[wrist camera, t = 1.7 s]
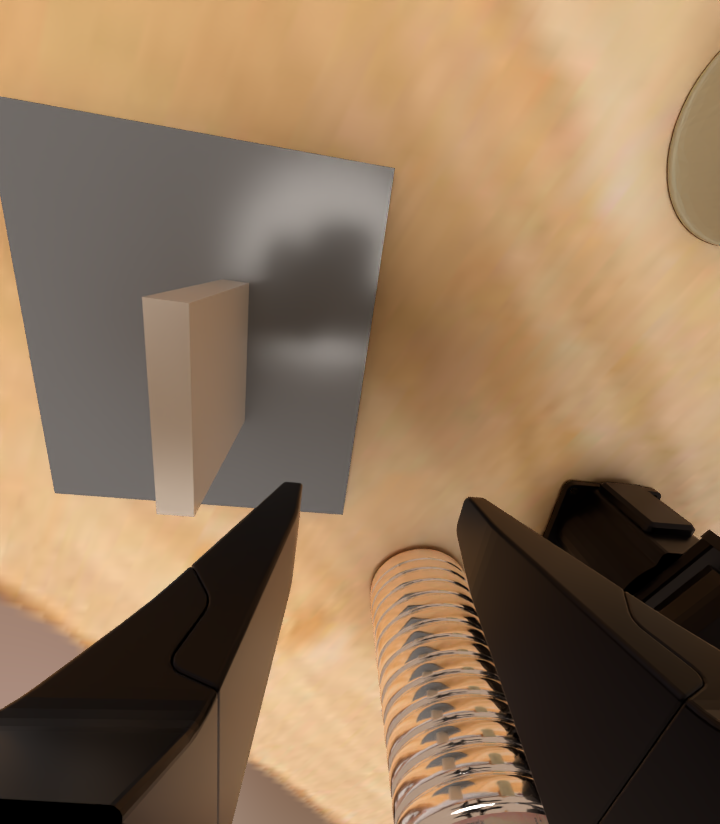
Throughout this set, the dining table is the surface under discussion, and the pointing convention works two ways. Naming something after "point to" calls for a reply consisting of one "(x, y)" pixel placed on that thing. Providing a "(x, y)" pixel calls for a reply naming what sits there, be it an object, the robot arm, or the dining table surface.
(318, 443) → the board
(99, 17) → the dining table surface
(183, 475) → the tile
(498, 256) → the dining table surface
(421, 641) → the water bottle
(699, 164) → the can
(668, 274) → the dining table surface
